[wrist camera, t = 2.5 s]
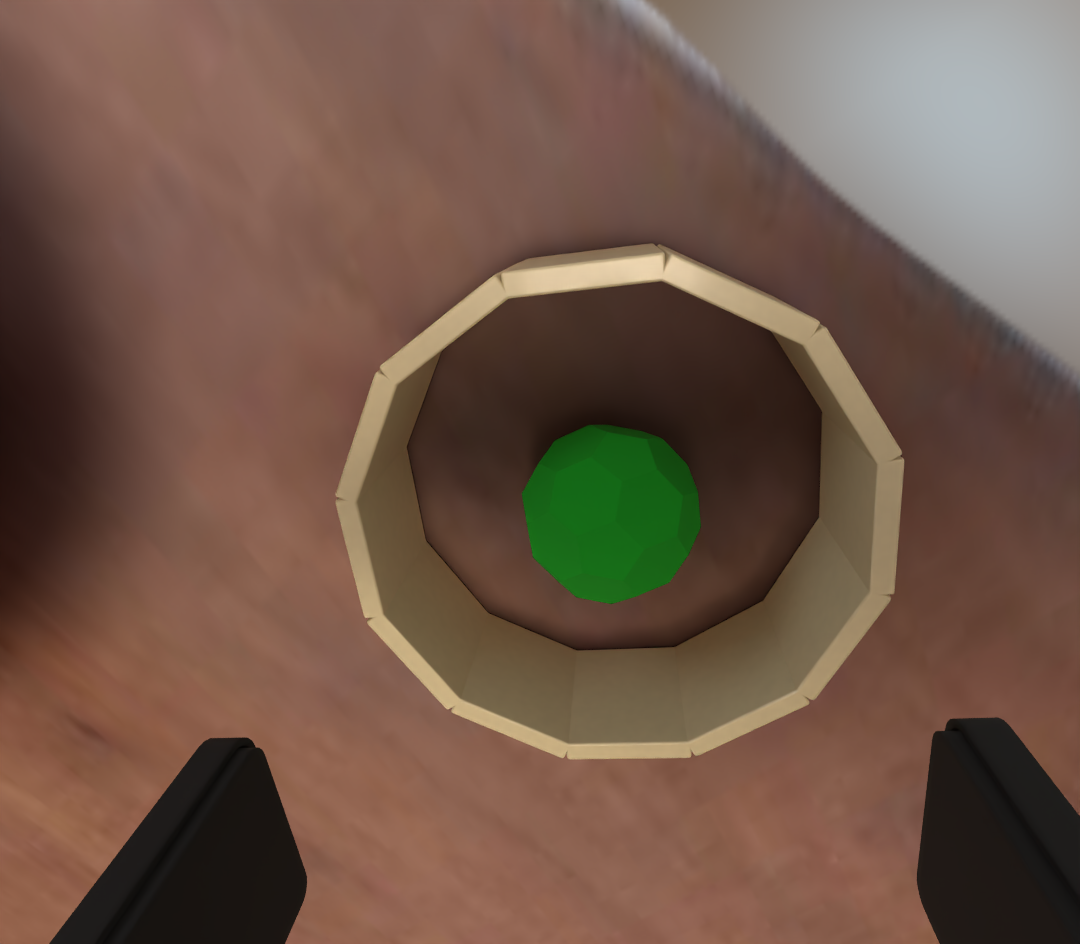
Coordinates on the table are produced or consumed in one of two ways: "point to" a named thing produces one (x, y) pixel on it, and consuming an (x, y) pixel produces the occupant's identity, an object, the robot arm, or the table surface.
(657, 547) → the polyhedron
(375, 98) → the table surface
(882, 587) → the hollow cylinder
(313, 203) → the table surface
